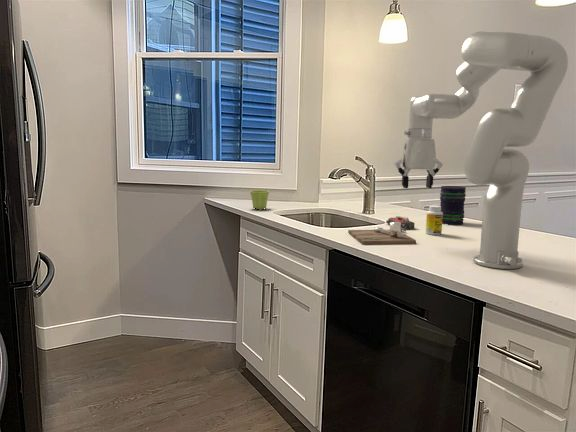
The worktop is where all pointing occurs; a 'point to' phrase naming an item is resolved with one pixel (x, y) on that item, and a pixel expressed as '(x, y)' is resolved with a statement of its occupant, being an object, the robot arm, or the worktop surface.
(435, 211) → the supplement bottle
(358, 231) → the dial board
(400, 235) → the lever
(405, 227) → the walkie-talkie
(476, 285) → the worktop surface
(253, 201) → the plant pot
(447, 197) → the storage jar
